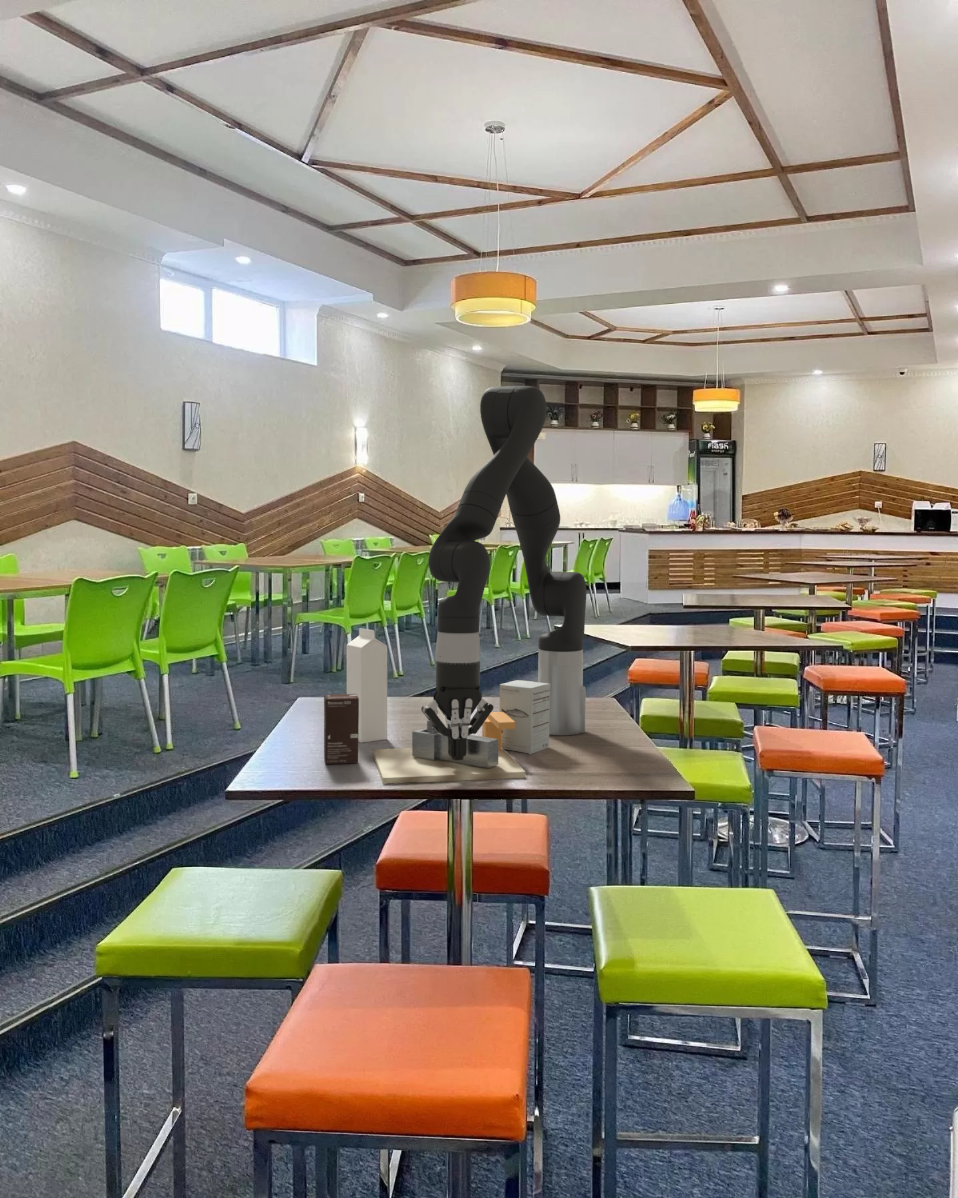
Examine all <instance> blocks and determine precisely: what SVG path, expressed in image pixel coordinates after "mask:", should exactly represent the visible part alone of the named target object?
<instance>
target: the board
mask: <svg viewBox="0 0 958 1198" xmlns="http://www.w3.org/2000/svg"><path fill="white" fill-rule="evenodd" d="M372 756H373V759H374V762H375V765H376V768H377V770H378V773H379V774H378V775H379V777H380V780H381V782H382V785H388V784H387V783H394V784H405V783H404V782H417V783H432V782H433V783H434V782H435V783H436V782H437V783H439V782H451V781H452V782H453V781H454V782H459V781H475V780H476V781H479V780H483V781H484V780H500V779H502V780H503V779H520V778H521V779H524V778H526V770H524V769H523V768H522V767H521V765H520V764H518V762H517V761H516V760H515V759H514V758H513V757H512V756H511V755H510V754H509V753H508V752H507V751H506V749H503V748H502V747H501V750H498V765H497V766H494V767H491V768H484V767H478V766H473V765H467V764H462V763H456V762H451V761H445V760H440V759H436V760H429V759H422V758H419V757H414V756H412V747H410V748H409V747H407V748H406V747H405V748H379V749H377V748H376V749H372Z"/></svg>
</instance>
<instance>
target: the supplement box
mask: <svg viewBox="0 0 958 1198" xmlns="http://www.w3.org/2000/svg"><path fill="white" fill-rule="evenodd" d="M498 708H499V711H498V712H504V713H505V714H506V715H508V716H509V717H510V718H511V719H512V720H513V721H515V729H501V747H502V748H503V749H504V750H508V751H514V752H518V753H526V754H530V755H531V754H535V753H538V752H540V751H542V750H543V751H544V750H546V749H548V748H549V747H550V734H549V719H550V684H548V683H539V682H538V681H532V680H531V681H529V680H521V679H520V680H519V679H517V680H512V681H508V682H505V683H500V684H499V707H498Z"/></svg>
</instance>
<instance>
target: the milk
mask: <svg viewBox="0 0 958 1198" xmlns="http://www.w3.org/2000/svg"><path fill="white" fill-rule="evenodd" d="M375 635H376V634H375V630H373V629H368V628H361V627H360V628H359V629H358V635H357V636H356V637H355V638H354V639H352V640H351V641H349V642H348V643H347V644H346V694H357V696H358V698H359V725H358V743H361V744H365V743H369V742H377V741H383V740H388V645H386V644H385V643H384V642H382V641H380V640H378V639H377V638H376V637H375Z"/></svg>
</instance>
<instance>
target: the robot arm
mask: <svg viewBox="0 0 958 1198" xmlns="http://www.w3.org/2000/svg"><path fill="white" fill-rule="evenodd" d="M481 395H482V396H481V398H480V403H479V404H480V406H479V411H480V413H479V414H480V419H481V423H482V427H483V431H484V433H485V434H484V435H485V436H486V438H487V441H488V443H489V446H490V449H491V451H492V455H493V456H492V457H491V458H490V459H488V461H487V462H486V463H484V464H483V465H482V466H481V467H480V468H479V469H478V470H477V471H476V472H475V473H474V474H473V476H472V477H471V478H470V479H469V481H468V483H467V484H466V486H465V488H464V491H463V493H462V496H461V499H460V501H459V503H458V505H457V509H456V511H455V513H454V516H452V518H451V519H450V521H448V523H446V526H445V527H444V528H443V530H442V531H441V532H440V533H439V535H438V536H437V537H436V539H435V541H434V543H433V545H432V546H431V548H430V551H429V554H428V562H427V563H428V568H429V572H430V574H431V576H432V577H433V578H434V579H436V581H439V582H445V583H458V585H457V586H458V587H457V588H456V591H455V593H454V595H450V596H446V597H443V598H441V599H440V600H439V602H438V606H437V638H436V645H435V646H436V647H435V687H436V688H435V691H434V694H433V697H432V698H433V700H432V701H430V702H429V703H428V704H427V705H422V706H421V708H420V711H421V712H422V713H423V715H424V716H425V717H426V719H427V721H428V720H429V721H430V722H431V724H432V725H433V726H434V728H435V729H436V730H437V731H438V733H440V734H442V735H444V736H447V737H448V754H449V756H451V758H452V759H453V760H463V756H466V745H467V737H468V736H469V735H476V734H477V733H478V732H479V730H480V729H481V727H482V724H483V723H484V722H485V720H486V719H488V716H489V715H490V713H491V712H493V710H494V707H495V706H494V705H493V704H492V703H490V702H488V701H486V700H485V699H484V698H483V693H482V692H481V690H480V685H481V639H480V607H481V603H482V599H483V595H484V593H485V592H484V591H485V589H486V585H487V580H488V577H489V573H490V567H491V560H490V559H491V558H490V554H489V553H488V549H486V547H485V545H484V544H483V543H481V542H479V541H477V540H481V539H484V538H486V537H488V536H489V535H490V534H491V533H492V531H493V529H494V528H495V524H496V521H497V520H498V517H499V514H500V512H501V509H502V507H503V502H504V500H505V498H507V502H508V507H509V512H510V515H511V518H512V522H513V525H514V528H515V532H516V534H517V538H518V542H519V545H520V550H521V552H522V557H523V561H524V562H523V563H524V568H525V573H526V579H527V585H528V590H529V596H530V602H531V604H532V607H533V609H534V611H535V612H536V613H537V614H539V615H541V616H547V617H564V618H563V623H562V625H561V626H560V627H558V628H556V629H554V630H552V631H548V632H545V633H542V634H541V635H540V636H539V637H538V641H537V642H538V649H537V650H538V651H537V652H538V653H537V654H538V657H537V658H538V660H537V661H538V663H537V665H538V666H537V667H538V669H537V670H538V673H537V677H538V678H537V682H539V683H548V684H550V719H549V735H553V736H571V735H578V734H585V733H586V701H587V700H586V694H587V693H586V687H585V686H584V685H583V684H584V682H583V681H584V680H583V679H584V677H583V675H584V673H583V672H584V670H583V668H584V663H583V662H584V638H585V630H586V629H585V625H586V621H585V620H586V607H587V606H586V605H587V584H586V579H585V576H583V574H582V573H580V572H574V571H550V570H549V569H548V566H547V560H546V559H547V558H546V557H547V554H548V551H549V548H550V547H551V545H552V542H553V541H554V539H555V537H556V535H557V532H558V530H559V528H560V524H561V513H560V509H559V504H558V499H557V496H556V491H555V489H554V487H553V485H552V483H551V482H550V481H549V479H548V478H547V477H546V476H545V475H544V474H543V472H542V471H541V470H540V469H539V468H538V467H537V466H536V465H535V464H534V462H532V461H531V459H530V458H529V457H528V456H529V453H530V452H531V451H532V449H533V447H534V445H535V444H536V442H537V440H538V438H539V436H540V434H541V432H542V430H543V427H544V425H545V423H546V418H547V413H548V412H547V411H548V410H547V409H548V407H547V401H546V398H545V395H544V393H543V391H542V390H541V389H540V388H538V387H536V386H530V385H505V386H504V385H503V386H502V385H500V386H499V385H498V386H492V387H488V388H487V389H485V390H484V391H483V394H481ZM438 709H439V710H440V711H441V713H442V715H443V716H444V721H445V724H446V725H445V724H444V723H443V721H442V720H441V718H440V717H439V716H438V714H439V710H438ZM475 710H477V711H476V712H475V714H474V715H473V716H472V714H473V713H474V711H475ZM471 717H472V718H471Z"/></svg>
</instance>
